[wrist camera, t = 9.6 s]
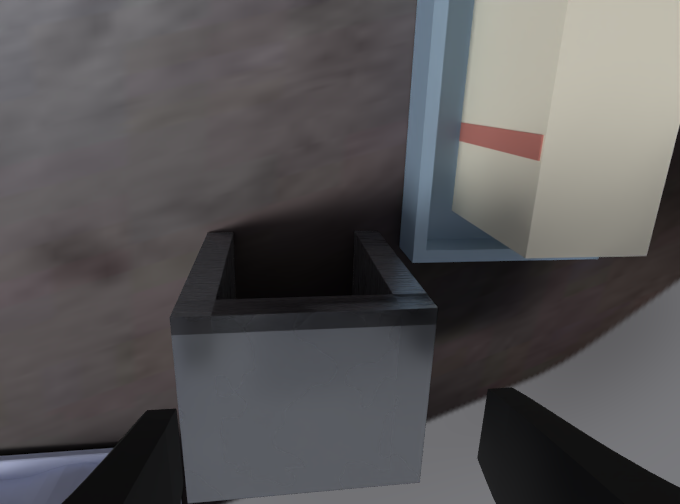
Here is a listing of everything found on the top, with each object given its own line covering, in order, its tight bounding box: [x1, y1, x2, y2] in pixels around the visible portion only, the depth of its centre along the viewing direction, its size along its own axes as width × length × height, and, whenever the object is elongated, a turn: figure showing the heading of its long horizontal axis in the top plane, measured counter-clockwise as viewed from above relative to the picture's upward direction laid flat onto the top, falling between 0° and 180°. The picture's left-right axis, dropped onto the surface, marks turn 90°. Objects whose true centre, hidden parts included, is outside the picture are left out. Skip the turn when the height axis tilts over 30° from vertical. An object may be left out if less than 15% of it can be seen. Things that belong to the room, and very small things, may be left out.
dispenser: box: [170, 231, 438, 503], centre depth 17 cm, size 7×6×8 cm
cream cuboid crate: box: [452, 0, 680, 258], centre depth 15 cm, size 4×12×6 cm, turn 178°
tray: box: [399, 0, 599, 263], centre depth 17 cm, size 8×16×2 cm, turn 178°
